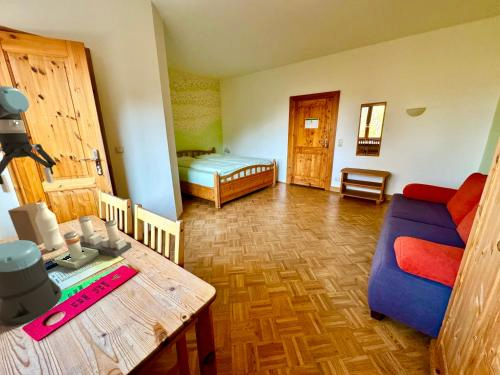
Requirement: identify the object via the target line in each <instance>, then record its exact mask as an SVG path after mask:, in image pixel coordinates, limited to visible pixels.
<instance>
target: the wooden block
mask: <svg viewBox="0 0 500 375" xmlns="http://www.w3.org/2000/svg"><path fill="white" fill-rule="evenodd" d="M36 203H37V202H36ZM36 203H29V202H28V203H26V204H23V205H20V206H17V207H14V208H11V209H8V210H7V212H8V215H9V217H10V219H11V222H12V226H13V227H14V231H15V232H16V235H17V237H18V240H27V241H32V242H34V243H35V244H36V245H37V246H39V245H41V244H44V241H43V237H42V235H41V233H40V231H39V229H38V226H37V223H36V221H35V218H36V215H37V212H38V209H37V205H36Z"/></svg>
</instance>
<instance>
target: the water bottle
mask: <svg viewBox="0 0 500 375" xmlns="http://www.w3.org/2000/svg"><path fill="white" fill-rule="evenodd" d="M36 205H37V209H38V212H37V215H36V218H35V221H36V223H37V226H38V229H39V231H40V233H41V235H42V237H43V241H44V242H43V246H44V248H45V249H46V250H47V251H49V252H52V251H53V250H57V251H58V250H59V249H61V247H63V246H64V242H65V241H64V238H63V237H62V236H61V233H60V228H59V224H58V220H57V217H56V214H55V213H54V212H52V211H51V210H49V208H48V205H47V204H46V202H45V201H40V202H36Z"/></svg>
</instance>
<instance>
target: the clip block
mask: <svg viewBox="0 0 500 375" xmlns="http://www.w3.org/2000/svg"><path fill="white" fill-rule="evenodd" d="M78 238H79V242H80V245H81V247H85V248H90V249H94V250H98V252H99V255H100V256H101V255H102V256H106V257H110V258H114V259H117V258H118V257H120V256H121V255H123V254H124V253H126V252H127V251H129V250H131V248H132V242H131V241H127V240H126V238H125V237H124V238H123V237H121V238H120V240H119V241H117V242H115V246H116V248H114V249H112V248H110V242H109V238H108V236H107V237H104V236H103V234H101V233H94V235H93V236H91V237H89V242H90V243H85V241H84V236H83V233H81V234H80V235H78Z"/></svg>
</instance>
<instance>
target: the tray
mask: <svg viewBox="0 0 500 375" xmlns="http://www.w3.org/2000/svg"><path fill="white" fill-rule="evenodd" d="M81 249H82V250H83V251H84V252H83V255H84V258H83V259H81V260H79V261H76V262H72V261H71V258H69V259H67V260H61V259H63V258H65V257H66V256H68V255H69V250H68V251H67V252H64V253H63V254H61V255H59V256H57V257H55V258H53V261H54V264H55V263H57V264H58V265H57V266H60V267H63V268H68V269H71V270H76V271H77V270H79V269H80V268H82V267H83V266H85V265H87V264H88V263H90V262H91V261H93V260H95V259H97V258H98V257H100V256H101V255H100V254H99V252H98V250H94V249H90V248H85V247H81Z"/></svg>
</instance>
